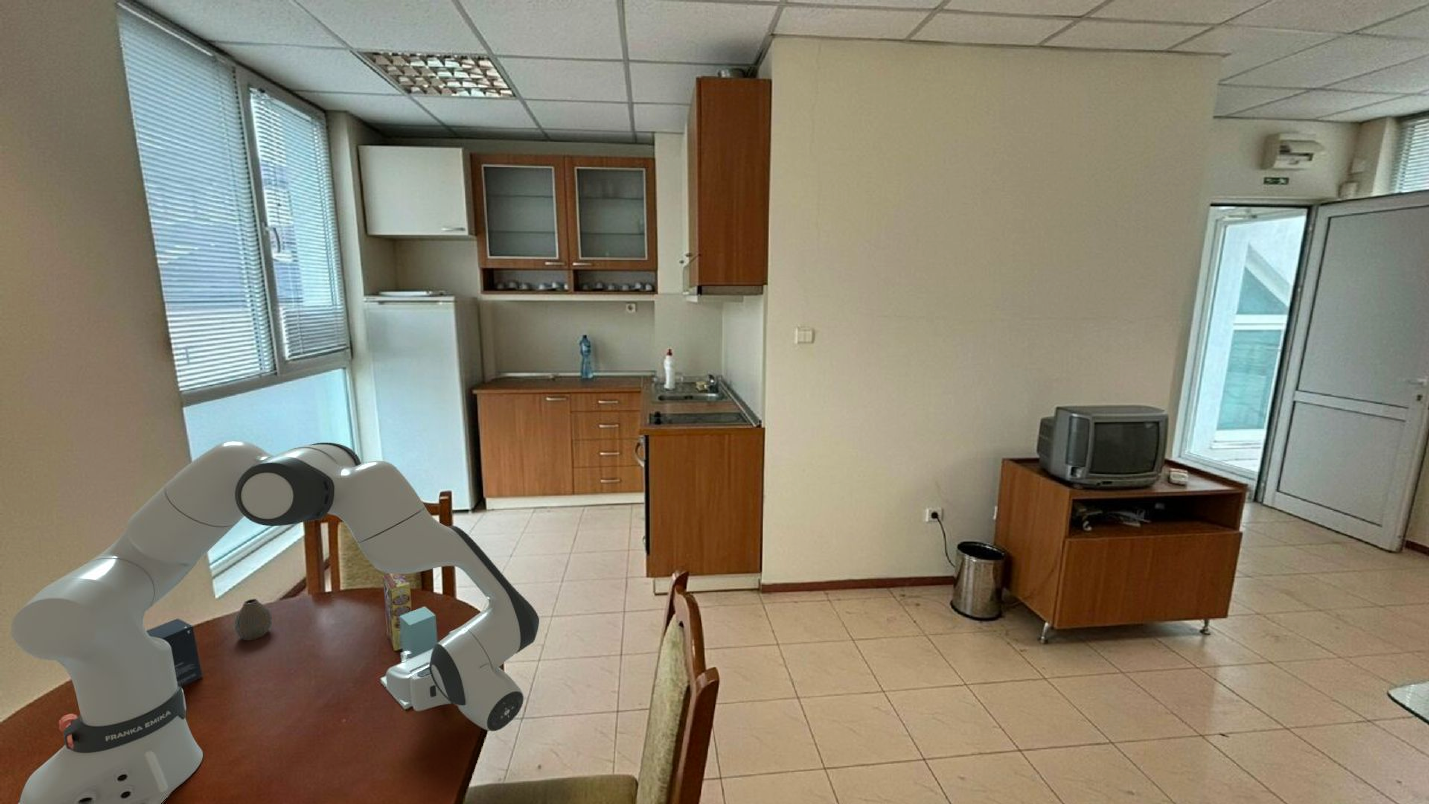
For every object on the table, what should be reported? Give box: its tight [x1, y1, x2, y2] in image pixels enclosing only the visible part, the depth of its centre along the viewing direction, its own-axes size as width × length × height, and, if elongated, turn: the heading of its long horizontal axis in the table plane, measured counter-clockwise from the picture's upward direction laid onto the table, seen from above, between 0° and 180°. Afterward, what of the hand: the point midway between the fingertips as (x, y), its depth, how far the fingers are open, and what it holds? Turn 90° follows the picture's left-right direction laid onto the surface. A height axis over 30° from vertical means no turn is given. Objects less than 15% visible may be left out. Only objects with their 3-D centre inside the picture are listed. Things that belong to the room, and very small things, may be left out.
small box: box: [146, 618, 204, 688], centre depth 116 cm, size 13×7×12 cm, turn 154°
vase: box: [233, 598, 273, 641], centre depth 135 cm, size 7×7×9 cm
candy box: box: [382, 573, 413, 652], centre depth 134 cm, size 9×4×15 cm, turn 39°
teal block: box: [400, 606, 439, 658], centre depth 119 cm, size 5×5×14 cm
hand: (429, 643), depth 117 cm, fingers open, 8 cm apart
